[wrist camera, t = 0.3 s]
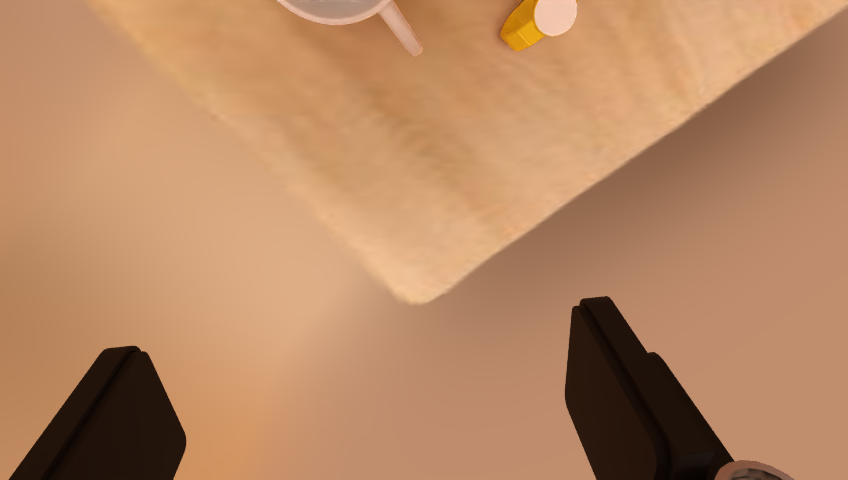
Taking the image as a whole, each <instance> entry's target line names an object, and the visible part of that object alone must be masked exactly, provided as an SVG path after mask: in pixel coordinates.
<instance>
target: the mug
mask: <svg viewBox="0 0 848 480" xmlns="http://www.w3.org/2000/svg"><path fill="white" fill-rule="evenodd" d="M277 1H278V2H279V3H280V4H282V5H283V6H284V7H286V8H287V9H288V10H290V11H291V12H293V13H295V14H296V15H298V16H300V17H302V18H305V19H307V20H310V21H313V22H316V23H321V24H327V25H346V24H352V23H356V22H359V21H362V20H365V19H367V18H369V17H371V16H373V15H375V14H376V13H378V14H379V15H380V16H381V17H382V19H383V20H384V21H385V22H386V24H387V25H388V26H389V28H390V29H391V31H392V32H393V33H394V35H395V36H396V37H397V39H398V40H399V41H400V43H401V44H402V45H403V46H404V48H405V49H406V50H407V51H408V52H409V53H410V54H411V55H412V56H417V55H419V54H420V53H421V52H422V51H423V47H422V45H421V43H420V41H419V40H418V38H417V36H416V35H415V33H414V32H413V30H412V28H411V27H410V25H409V24H408V22H407V21H406V19H405V18H404V16H403V15H402V13H401V12H400V10H399V8H398V7H397V5H396V4H395V2H394V1H393V0H277Z"/></svg>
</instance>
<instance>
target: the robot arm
mask: <svg viewBox="0 0 848 480" xmlns="http://www.w3.org/2000/svg"><path fill="white" fill-rule="evenodd" d="M565 401H566V405H567V409H568V411H569V414H570V416H571V419H572V421H573V423H574V426H575V428H576V431H577V433H578V436H579V438H580V441H581V443H582V446H583V448H584V450H585V453H586V455H587V457H588V460H589V463H590V465H591V467H592V470H593V472H594V475H595V477H596V480H794V479H793V478H791V477H790V476H789V475H787V474H786V473H784V472H782V471H780V470H778V469H776V468H774V467H772V466H769V465H766V464H763V463H760V462H756V461H745V460H740V461H734V460H733V459H732V457H731V456H730V454H729V453H728V451H727V450H726V448H725V447H724V446H723V444H722V443H721V441H720V440H719V438H718V437H717V436H716V434H715V433H714V431H713V430H712V429H711V427H710V426H709V424H708V423H707V421H706V420H705V419H704V417H703V416H702V414H701V413H700V411H699V410H698V409H697V407H696V406H695V405H694V403H693V401H692V400H691V399H690V397H689V396H688V394H687V393H686V392H685V390H684V389H683V387H682V386H681V384H680V383H679V382H678V380H677V379H676V377H675V376H674V374H673V373H672V372H671V370H670V369H669V367H668V366H667V364H666V363H665V362H664V360H663V359H662V358H661V357H660V356H659V355H658V354H656V353H655V352H650V353H647V351H646V350H645V348H644V347H643V345H642V344H641V343H640V341H639V340H638V338H637V337H636V335H635V334H634V332H633V331H632V329H631V328H630V326H629V325H628V323H627V322H626V320H625V319H624V317H623V316H622V314H621V313H620V311H619V310H618V308H617V307H616V306H615V304H614V303H613V301H612V300H611V299H610V298H609V297H607V296H605V297H595V298H586V299H582V300H581V301H580V305H579V306H574V307H573V308H572V315H571V327H570V338H569V350H568V361H567V373H566V384H565ZM185 448H186V436H185V432H184V430H183V428H182V426H181V424H180V422H179V419H178V417H177V415H176V413H175V411H174V409H173V406H172V404H171V402H170V400H169V398H168V396H167V393H166V391H165V389H164V387H163V385H162V383H161V381H160V378H159V376H158V374H157V372H156V370H155V368H154V365H153V363H152V361H151V359H150V357H149V355H148V353H146V352H143V351H142V352H141V350H140V349H139V348H138V347H137V346H125V347H116V348H107V349H105V350H104V351H102V353H101V354H100V355H99V356H98V358H97V359H96V361H95V362H94V363H93V365H92V366H91V367H90V369H89V370H88V371H87V373H86V374H85V376H84V377H83V378H82V380H81V381H80V382H79V384H78V385H77V386H76V388H75V389H74V391H73V392H72V393H71V395H70V396H69V397H68V399H67V400H66V402H65V403H64V404H63V406H62V407H61V408H60V410H59V411H58V413H57V414H56V415H55V417H54V418H53V419H52V421H51V423H50V424H49V425H48V426H47V428H46V429H45V430H44V432H43V433H42V435H41V436H40V437H39V439H38V440H37V441H36V443H35V444H34V446H33V447H32V448H31V450H30V451H29V452H28V454H27V455H26V457H25V458H24V459H23V461H22V462H21V463H20V465H19V466H18V467H17V469H16V470H15V472H14V473H13V474H12V476H11V477H10V479H9V480H173V478H174V476H175V473H176V471H177V469H178V466H179V464H180V461H181V459H182V457H183V454H184V451H185Z"/></svg>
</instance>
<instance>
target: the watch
mask: <svg viewBox="0 0 848 480" xmlns="http://www.w3.org/2000/svg"><path fill="white" fill-rule="evenodd" d="M577 1H578V0H524V1H523V2H522V3H521V4H520V5H519V6H518V7H517V8H516V9H515V10H514V11H513V12H512V13H511V14H510V16H509V17H508V19H507V20H506V22H505V23H504V25H503V27H502V31H501V38H502V39H503V40H504V41H505V42H506V43H507V44H508V45H509V46H510V48H511V49H512V50H515V51H521V50H523V49H525V48H527V47H530V46H531V45H533V44H534V43H536V42H537V41H538V40H540V39H541V38H542V37H544V36H545V35H547V36H558V35H561V34H563V33H565V32H566V31H567V30H568V29H569V28H570V27H571V26H572V24H573V23H574V21H575V18H576V15H577V4H576V2H577Z"/></svg>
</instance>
